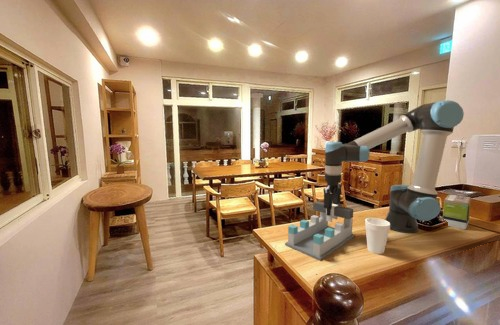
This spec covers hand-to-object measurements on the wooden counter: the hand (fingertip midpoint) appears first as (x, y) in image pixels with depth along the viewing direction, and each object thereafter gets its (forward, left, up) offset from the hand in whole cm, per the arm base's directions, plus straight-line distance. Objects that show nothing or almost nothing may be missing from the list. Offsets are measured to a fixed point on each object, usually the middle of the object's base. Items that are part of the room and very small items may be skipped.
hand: (332, 219), depth 115 cm
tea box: (-40, -63, -8) cm, 75 cm away
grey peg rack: (0, +9, -8) cm, 12 cm away
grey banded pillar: (0, 0, +3) cm, 3 cm away
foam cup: (-21, 0, -8) cm, 22 cm away
